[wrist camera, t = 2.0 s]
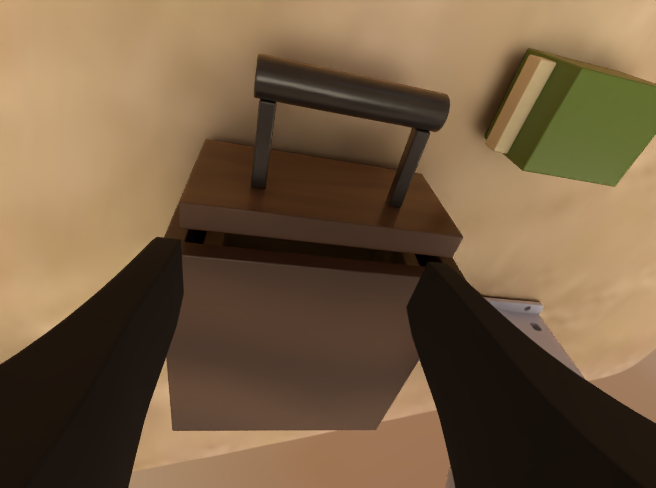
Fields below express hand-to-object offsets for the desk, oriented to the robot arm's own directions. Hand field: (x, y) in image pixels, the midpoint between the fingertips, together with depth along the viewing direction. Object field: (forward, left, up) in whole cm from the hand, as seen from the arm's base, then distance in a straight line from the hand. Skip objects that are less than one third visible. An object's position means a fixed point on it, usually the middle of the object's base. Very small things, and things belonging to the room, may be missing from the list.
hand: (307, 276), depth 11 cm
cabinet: (-1, +9, -10) cm, 14 cm away
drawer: (-1, +4, -9) cm, 10 cm away
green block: (-13, -4, -10) cm, 17 cm away
